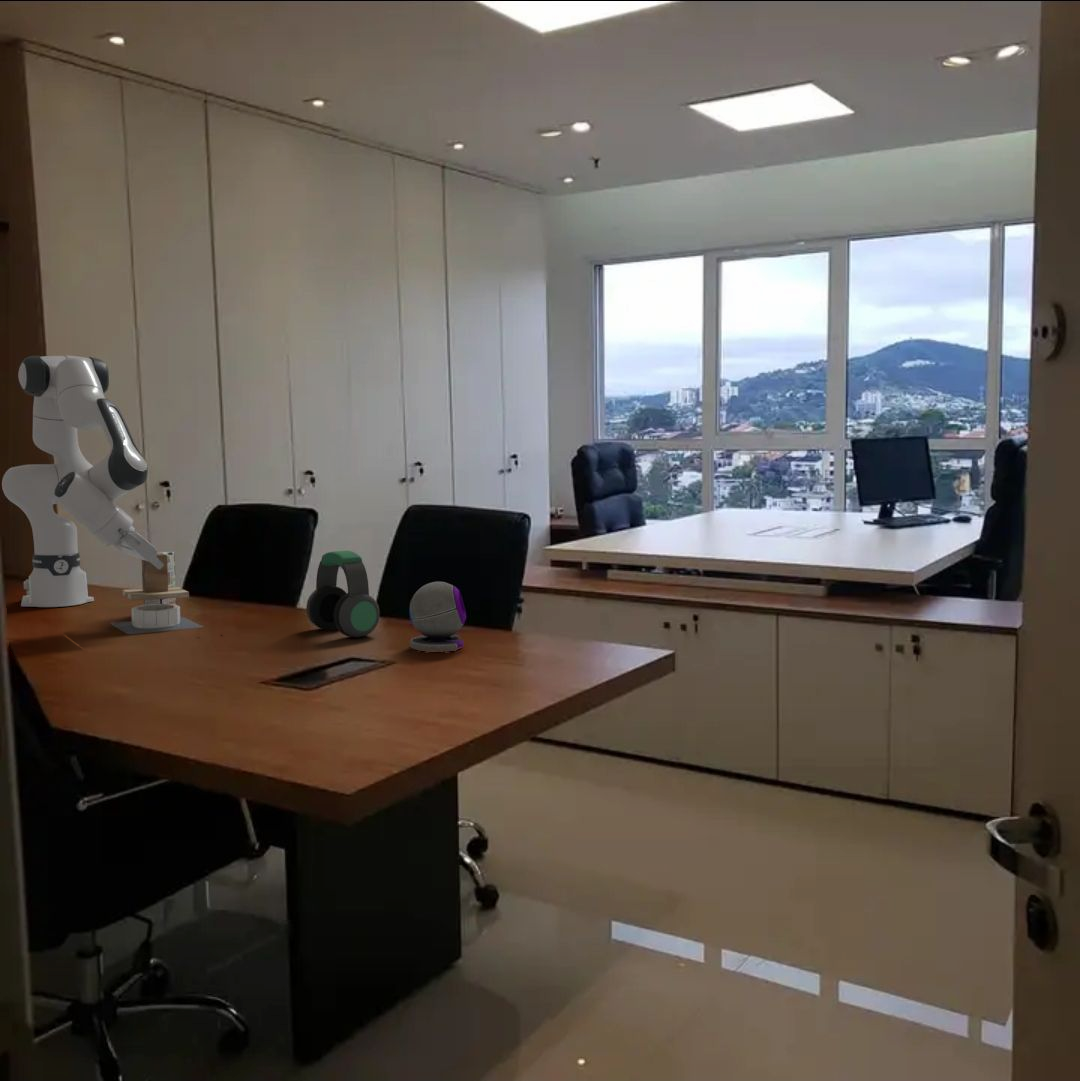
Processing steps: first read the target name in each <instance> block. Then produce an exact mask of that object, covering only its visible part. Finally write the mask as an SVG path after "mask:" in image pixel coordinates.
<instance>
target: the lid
mask: <svg viewBox="0 0 1080 1081" xmlns="http://www.w3.org/2000/svg"><path fill="white" fill-rule="evenodd" d="M156 556H157V558H158V559H159V560H160V561H161V562H162V563H163V564H164V566H163V567H162V568H161V569H157V568H155V567H154V566H153V565H152V564H151V563H150V562H148V561H145V560H141V577H142V578H141V580H142V582H141V584H142V588H130V589H122V591H121V593H122V596H124V597H126V598H127V599H129V600H132V601H133V602H135V601H136V602H139V601H144V600H154V599H167V598H177V599H179V598H180V599H181V598H189V597H190V592H189V591H188V590H186V589H183V588H181V587H179V586H177V585H176V586H172V587H168V567H167V555H165V554H163V553H160V554H156Z"/></svg>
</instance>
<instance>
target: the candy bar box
mask: <svg viewBox="0 0 1080 1081" xmlns="http://www.w3.org/2000/svg"><path fill="white" fill-rule="evenodd" d="M160 553H163V554H165V555H167V567H168V587H172V586H177V583H176V563H175V561H176V560H175V551H158V553H157V554H160ZM150 604H173V605H178V598H167V599H154V600H143V605H150Z"/></svg>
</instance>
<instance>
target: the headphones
mask: <svg viewBox="0 0 1080 1081" xmlns="http://www.w3.org/2000/svg"><path fill="white" fill-rule="evenodd" d="M340 568H341V569H342V570H343V573H344V576H345V580H346V585H347V586H346V587H347V592H346V591H345V590H344V589H343V588H341V587H339V586H338V585H337V583H338V582H337V580H338V572H339V570H340ZM315 579H316V581H315V583H316V584H315V585H316V586H315V587H316V588H315V590H314V591H312V593H311V594H310V595H309V597H308V599H307V602H306V609H305V610H306V614H307V618H308V619H309V621H310V622H311V623H312V624H313V625H314V626H316V627H317V628H319V629H321V630H323V631H335V629H336V630H338V631H339V632H340V633H341V634H342V635H343V636H346V637H349V638H363V637H366V636H368V635H370V634H371V633H372V632H373V631H374V630H375V629H376V627H377V626H378V624H379V621H380V614H381V613H380V606H379V604H378V601H377V600H375V598H374V597H372V596H371V595H370V591H369V590H370V589H369V579H368V574H367V571H366V566H365V564H364V562H363V559H362V557H361V556H360V555H359V554H358V553H357V552H354V551H352V550H337V551H335V550H334V551H329V552H326V553H324V554H323V555H322V556H321V560H320V562H319V564H318V568H317V572H316V578H315Z"/></svg>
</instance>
